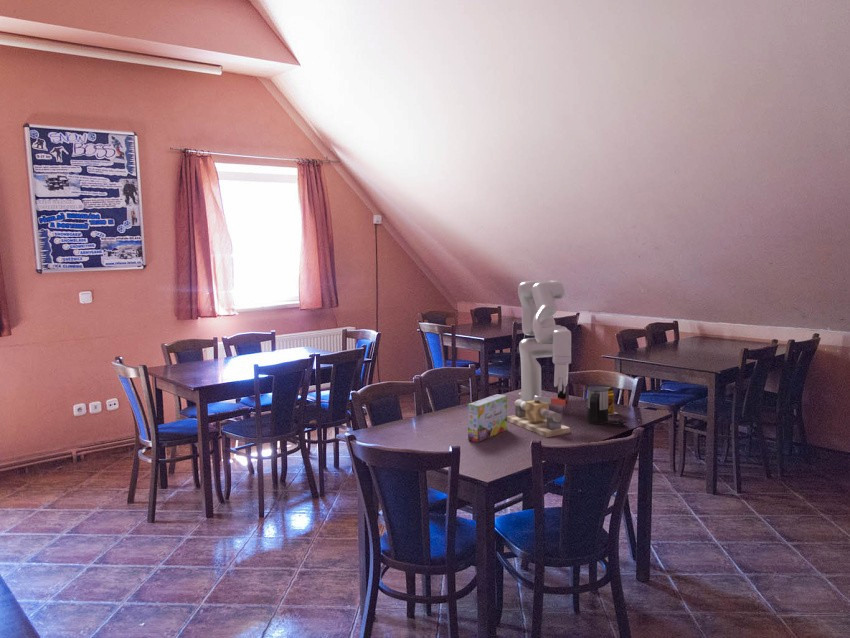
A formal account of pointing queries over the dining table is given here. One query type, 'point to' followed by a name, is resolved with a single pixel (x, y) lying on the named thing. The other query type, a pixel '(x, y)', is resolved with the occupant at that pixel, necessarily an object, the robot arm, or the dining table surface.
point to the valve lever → (551, 400)
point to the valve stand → (538, 418)
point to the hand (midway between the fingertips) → (561, 402)
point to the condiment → (610, 401)
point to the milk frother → (599, 406)
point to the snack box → (487, 417)
